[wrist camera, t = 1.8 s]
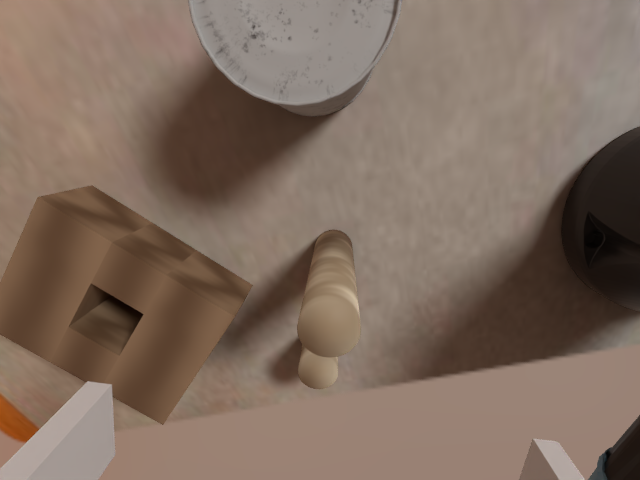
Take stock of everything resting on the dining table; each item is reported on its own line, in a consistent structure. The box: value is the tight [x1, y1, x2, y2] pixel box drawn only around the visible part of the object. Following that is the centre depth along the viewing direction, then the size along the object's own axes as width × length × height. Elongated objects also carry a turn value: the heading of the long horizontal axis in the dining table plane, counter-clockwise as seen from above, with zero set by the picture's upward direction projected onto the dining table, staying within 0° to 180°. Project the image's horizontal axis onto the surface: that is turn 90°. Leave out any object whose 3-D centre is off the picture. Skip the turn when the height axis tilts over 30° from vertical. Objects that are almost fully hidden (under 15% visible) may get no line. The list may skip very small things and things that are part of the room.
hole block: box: [0, 186, 253, 425], centre depth 32 cm, size 16×12×6 cm
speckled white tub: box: [188, 0, 402, 116], centre depth 22 cm, size 10×10×12 cm
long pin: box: [297, 230, 361, 358], centre depth 26 cm, size 3×3×14 cm
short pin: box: [298, 344, 338, 389], centre depth 33 cm, size 3×3×5 cm
